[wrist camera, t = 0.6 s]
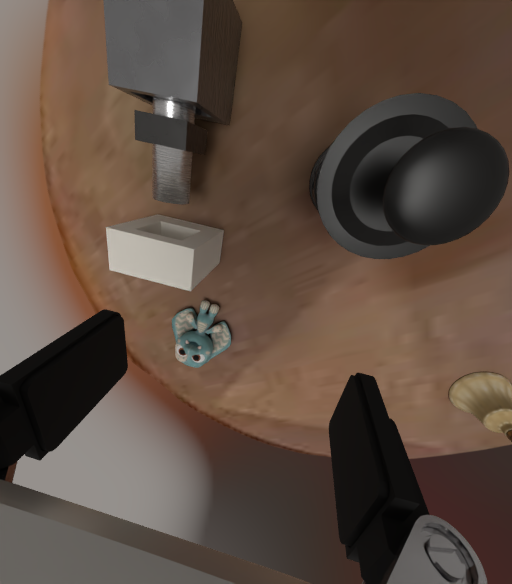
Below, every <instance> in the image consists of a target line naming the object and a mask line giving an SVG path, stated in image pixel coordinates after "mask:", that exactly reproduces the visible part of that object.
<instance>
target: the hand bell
mask: <svg viewBox="0 0 512 584" xmlns="http://www.w3.org/2000/svg"><path fill="white" fill-rule="evenodd" d="M511 398H512V385H511V383H510V381H509V380H508V379H506V378H505V377H504V376H502V375H499V374H497V373H491V372H477V373H472V374H469V375H466V376H464V377H462V378H460V379H459V380H457V381H456V382H455V383H454V384H453V385H452V386H451V388H450V390H449V399H450V401H451V402H452V404H453V405H454V406H456V407H457V408H459V409H460V410H462V411H465V412H468V413H471V414H473V415H474V416H475V417H477V418H478V419H479V420H480V421H481V422H482V424H483V425H484V426H485V427H486V428H487V429H489V430H491V431H493V432H497V433H504V434H505V435H506V436H507V437H508V438H509V440H511V442H512V399H511Z"/></svg>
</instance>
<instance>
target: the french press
mask: <svg viewBox="0 0 512 584" xmlns="http://www.w3.org/2000/svg"><path fill="white" fill-rule="evenodd" d="M508 177H509V163H508V158H507V155H506V153H505V150H504V148H503V147H502V146H501V144H500V143H499V142H498V140H496V139H495V138H494V137H492V136H491V135H490V134H488V133H486V132H484V131H481V130H479V129H477V127H476V124H475V123H474V122H473V120H472V119H471V118H470V116H469V115H468V114H467V112H466V111H464V110H463V109H462V108H460V107H459V106H458V105H457V104H455V103H454V102H452V101H450V100H447V99H445V98H442V97H440V96H437V95H430V94H422V93H416V94H406V95H399V96H396V97H393V98H390V99H387V100H384V101H381V102H380V103H378V104H376V105H374V106H372V107H370V108H368V109H367V110H365V111H364V112H362V113H361V114H360V115H359V116H357V117H356V118H355V119H354V120H352V121H351V122H350V123H349V124H348V125H347V126H346V128H345V129H344V130H343V131H342V132H341V133H340V134H339V135H338V136H337V138H336V140H335V141H334V142H333V143H332V144H331V146H330V147H328V148H327V149H326V150H325V151H324V152H323V153H322V154H321V155H320V157H319V158H318V160H317V161H316V163H315V165H314V167H313V170H312V172H311V177H310V185H309V189H310V196H311V199H312V201H313V204H314V205H315V207H316V209H317V210H318V212H319V214H320V216H321V219H322V222H323V225H324V226H325V228H326V229H327V231H328V233H329V234H330V236H331V237H332V238H333V239H334V240H335V241H336V242H337V243H338V244H339V245H341V246H342V247H344V248H345V249H347V250H348V251H350V252H352V253H355V254H357V255H359V256H362V257H368V258H373V259H391V258H397V257H403V256H406V255H409V254H412V253H415V252H418V251H420V250H422V249H424V248H426V247H428V246H430V245H438V244H444V243H448V242H451V241H454V240H456V239H459V238H461V237H463V236H465V235H467V234H469V233H470V232H472V231H473V230H474V229H476V228H477V227H479V226H480V225H481V224H482V223H483V222H484V221H485V220H486V219H487V218H489V216H490V215H491V214H492V213H493V211H494V210H495V209H496V208H497V206H498V204H499V203H500V201H501V199H502V197H503V195H504V193H505V190H506V187H507V184H508Z"/></svg>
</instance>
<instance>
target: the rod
mask: <svg viewBox="0 0 512 584" xmlns="http://www.w3.org/2000/svg"><path fill="white" fill-rule="evenodd" d="M195 109H196V107H195V106H194V105H192V104H189V103H184V102H179V101H174V100H169V99H165V98H160V97H155V96H153V114H151V113H146V112H141V111H137V110H135V140H138V141H143V142H147V143H152V144H153V199H155V200H158V201H162V202H166V203H172V204H189V199H190V184H191V169H192V154H193V153H198V154H202V155H205V154H206V142H207V130H205V129H203V128H201V127H199V126H197V125H195Z"/></svg>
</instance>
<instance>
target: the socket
mask: <svg viewBox="0 0 512 584" xmlns="http://www.w3.org/2000/svg"><path fill="white" fill-rule="evenodd" d="M106 233H107V245H108V257H109V269H110V270H112V271H116V272H119V273H123V274H127V275H131V276H135V277H138V278H142V279H146V280H150V281H154V282H157V283H161V284H165V285H169V286H172V287H176V288H180V289H184V290H188V291H192V290H193V289H194V288H195V287H196V286H197V285H198V284H199V283H200V282H201V281H202V280H203V279H204V278H205V277H206V276H207V275H208V274H209V273H210V272H211V271H212V270H213V269H214V268H215V267H216V266H217V265H218V264H219V263H220V256H221V249H222V241H223V234H224V230H221V229H217V228H213V227H209V226H205V225H201V224H197V223H192V222H188V221H184V220H180V219H176V218H172V217H167V216H163V215H159V214H158V215H154V216H150V217H146V218H141V219H137V220H133V221H129V222H125V223H121V224H117V225H113V226H109V227H106Z"/></svg>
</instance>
